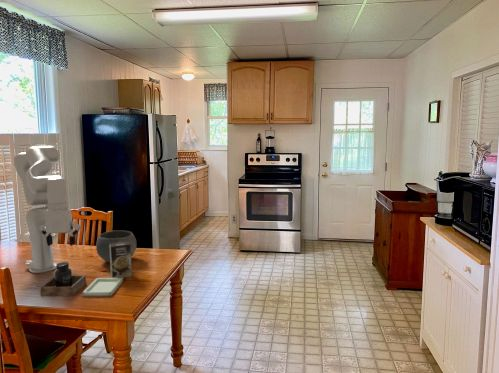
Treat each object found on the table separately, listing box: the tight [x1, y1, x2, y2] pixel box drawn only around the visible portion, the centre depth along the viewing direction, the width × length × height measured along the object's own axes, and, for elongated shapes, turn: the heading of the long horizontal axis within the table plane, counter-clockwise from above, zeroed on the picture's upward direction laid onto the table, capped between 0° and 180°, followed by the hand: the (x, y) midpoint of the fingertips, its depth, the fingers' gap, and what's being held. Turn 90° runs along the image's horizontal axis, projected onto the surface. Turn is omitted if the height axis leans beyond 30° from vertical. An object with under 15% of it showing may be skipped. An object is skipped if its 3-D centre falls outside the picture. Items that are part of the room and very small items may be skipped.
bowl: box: [95, 230, 138, 264], centre depth 205 cm, size 20×20×15 cm
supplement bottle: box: [54, 261, 74, 287], centre depth 169 cm, size 7×7×12 cm
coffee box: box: [109, 241, 133, 279], centre depth 185 cm, size 9×6×16 cm
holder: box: [39, 274, 87, 297], centre depth 170 cm, size 14×14×4 cm
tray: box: [81, 277, 124, 297], centre depth 171 cm, size 12×16×2 cm
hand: (61, 244), depth 167 cm, fingers open, 9 cm apart
